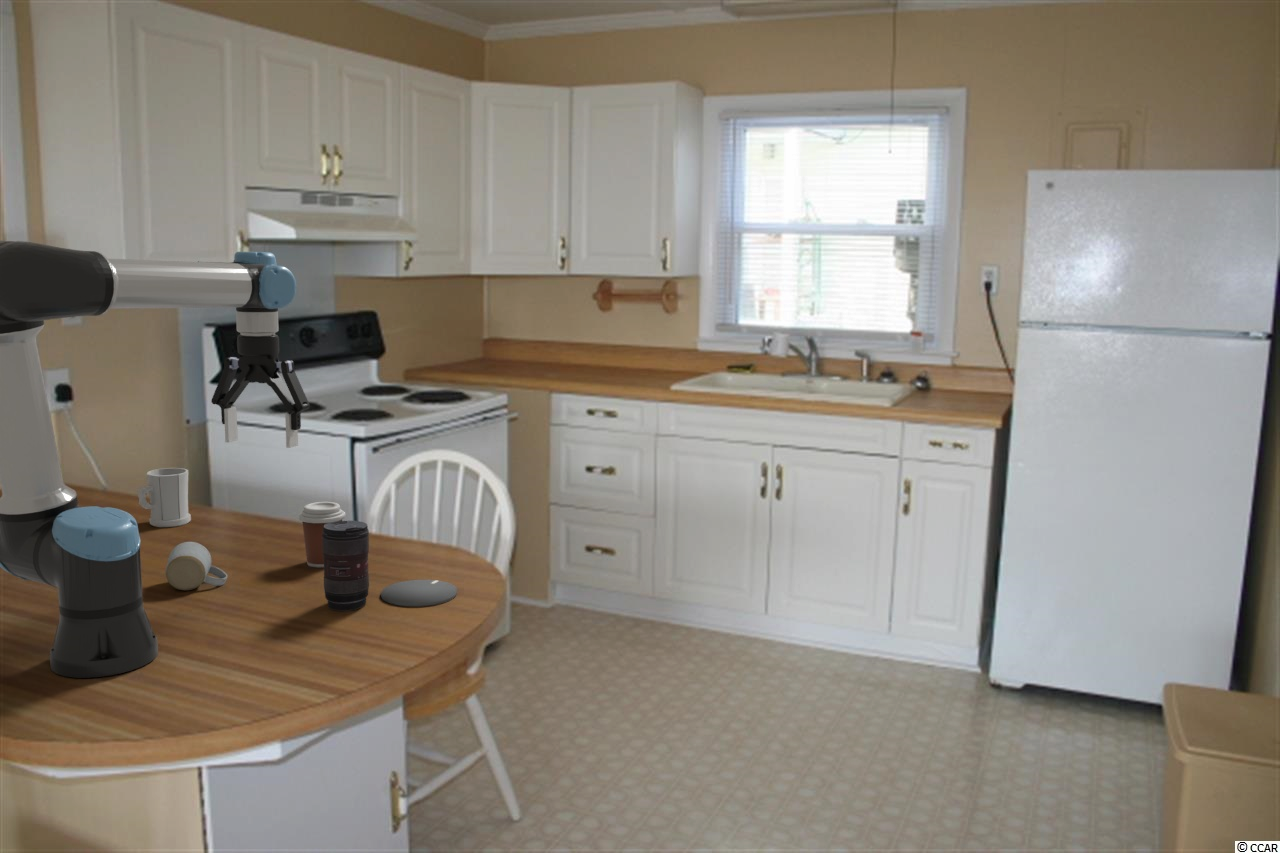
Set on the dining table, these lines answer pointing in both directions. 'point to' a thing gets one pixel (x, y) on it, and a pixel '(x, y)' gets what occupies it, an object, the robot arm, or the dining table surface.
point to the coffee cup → (318, 528)
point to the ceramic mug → (192, 567)
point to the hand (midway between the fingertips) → (261, 444)
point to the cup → (166, 497)
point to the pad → (419, 593)
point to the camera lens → (346, 564)
